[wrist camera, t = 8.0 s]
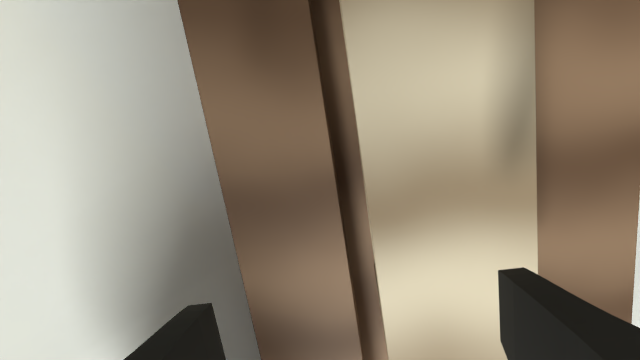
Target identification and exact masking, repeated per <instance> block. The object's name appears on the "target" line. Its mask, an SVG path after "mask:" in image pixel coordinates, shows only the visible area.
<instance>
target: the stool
mask: <svg viewBox="0 0 640 360" xmlns="http://www.w3.org/2000/svg"><path fill="white" fill-rule="evenodd" d="M339 2H340V10H341V17H342V24H343V32H344V39H345V47H346V54H347V61H348V69H349V76H350V84H351V91H352V98H353V106H354V113H355V121H356V128H357V135H358V143H359V150H360V157H361V165H362V172H363V180H364V187H365V194H366V202H367V209H368V217H369V224H370V231H371V239H372V246H373V254H374V261H375V263H374V270H375V277H376V284H377V291H378V297H379V304H380V310H381V316H382V323H383V329H384V335H385V342H386V348H387V355H388V360H508V359H507V356H506V354H505V351H504V349H503V346H502V344H501V341H500V315H499V286H498V270H504V269H513V268H522V267H524V268H526V269H528V270H530V271H532V272H534V273H536V274H538V245H537V170H536V95H535V20H534V0H339Z"/></svg>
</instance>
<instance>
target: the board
mask: <svg viewBox="0 0 640 360" xmlns="http://www.w3.org/2000/svg"><path fill="white" fill-rule="evenodd" d="M178 4H179V9H180V13H181V17H182V22H183V26H184V30H185V35H186V39H187V43H188V47H189V52H190V56H191V60H192V65H193V69H194V73H195V78H196V82H197V86H198V90H199V95H200V99H201V103H202V108H203V112H204V116H205V120H206V125H207V129H208V133H209V138H210V142H211V146H212V151H213V155H214V159H215V163H216V168H217V172H218V176H219V181H220V185H221V189H222V193H223V198H224V202H225V206H226V211H227V215H228V219H229V224H230V228H231V232H232V236H233V241H234V245H235V249H236V254H237V258H238V262H239V266H240V271H241V275H242V279H243V284H244V288H245V292H246V297H247V301H248V305H249V309H250V314H251V318H252V322H253V327H254V331H255V335H256V339H257V344H258V348H259V352H260V357H261V360H388V355H387V348H386V342H385V335H384V329H383V323H382V316H381V310H380V304H379V297H378V291H377V284H376V277H375V270H374V263H375V261H374V254H373V246H372V239H371V231H370V224H369V217H368V209H367V202H366V194H365V187H364V180H363V172H362V165H361V157H360V150H359V143H358V135H357V128H356V121H355V113H354V106H353V98H352V91H351V84H350V76H349V69H348V61H347V54H346V47H345V39H344V32H343V24H342V17H341V10H340V2H339V0H178ZM534 20H535V95H536V170H537V245H538V275H540V276H541V277H543V278H545V279H547V280H548V281H550V282H552V283H554V284H556V285H557V286H559V287H561V288H563V289H564V290H566V291H568V292H570V293H572V294H573V295H575V296H577V297H579V298H581V299H583V300H584V301H586V302H588V303H590V304H592V305H594V306H596V307H598V308H600V309H602V310H604V311H605V312H607V313H609V314H611V315H613V316H615V317H618V318H620V319H622V320H624V321H626V322H628V323H630V324H631V321H632V305H633V290H634V274H635V258H636V242H637V227H638V211H639V195H640V0H534Z"/></svg>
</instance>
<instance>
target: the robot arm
mask: <svg viewBox="0 0 640 360" xmlns="http://www.w3.org/2000/svg"><path fill="white" fill-rule="evenodd" d="M498 286H499V315H500V341H501V344H502V346H503V349H504V351H505V354H506V356H507V359H508V360H640V328H639V327H636V326H634V325H632V324H630V323H628V322H626V321H624V320H622V319H620V318H618V317H615V316H613V315H611V314H609V313H607V312H605V311H604V310H602V309H600V308H598V307H596V306H594V305H592V304H590V303H588V302H586V301H584V300H583V299H581V298H579V297H577V296H575V295H573V294H572V293H570V292H568V291H566V290H564V289H563V288H561V287H559V286H557V285H556V284H554V283H552V282H550V281H548V280H547V279H545V278H543V277H541V276H540V275H538V274H536V273H534V272H532V271H530V270H528V269H526V268H524V267H522V268H513V269H504V270H498ZM124 360H226V359H225V355H224V351H223V347H222V343H221V339H220V335H219V331H218V327H217V323H216V319H215V315H214V311H213V307H212V303H207V304H199V305H190V306H187V307H186V308H185V309H183V310H182V311H181V312H179V313H178V314H177V315H176V316H174V317H173V318H172V319H171V320H170V321H169V322H167V323H166V324H165V325H164V326H163V327H162V328H160V329H159V330H158V331H157V332H156V333H155V334H154V335H152V336H151V337H150V338H149V339H148V340H147V341H145V342H144V343H143V344H142V345H141V346H140V347H138V348H137V349H136V350H135V351H134V352H133V353H131V354H130V355H129V356H128V357H126V358H125V359H124Z"/></svg>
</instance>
